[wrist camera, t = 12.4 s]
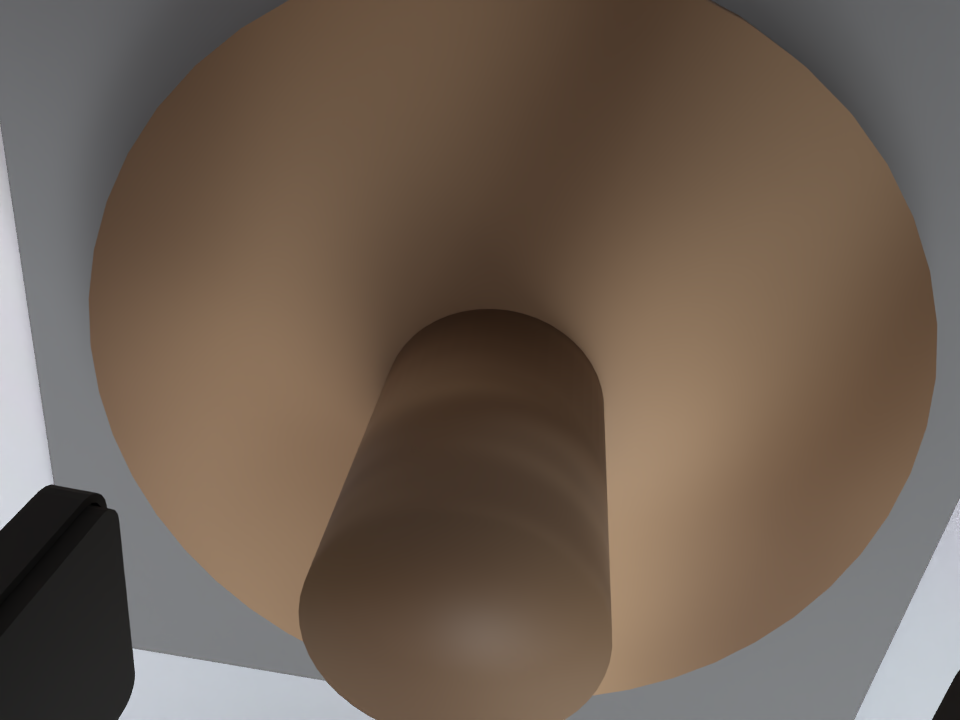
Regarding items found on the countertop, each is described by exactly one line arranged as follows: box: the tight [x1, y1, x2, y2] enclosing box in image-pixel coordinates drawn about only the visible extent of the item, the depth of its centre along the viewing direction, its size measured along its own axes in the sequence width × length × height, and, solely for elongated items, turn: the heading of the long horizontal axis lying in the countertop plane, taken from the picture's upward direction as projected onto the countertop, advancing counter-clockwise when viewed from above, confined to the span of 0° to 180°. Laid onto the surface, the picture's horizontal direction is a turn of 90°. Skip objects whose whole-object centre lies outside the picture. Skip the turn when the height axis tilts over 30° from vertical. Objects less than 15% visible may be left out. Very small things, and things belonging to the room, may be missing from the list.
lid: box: [89, 0, 937, 720], centre depth 13 cm, size 14×14×6 cm
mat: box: [0, 0, 960, 720], centre depth 16 cm, size 17×17×1 cm
